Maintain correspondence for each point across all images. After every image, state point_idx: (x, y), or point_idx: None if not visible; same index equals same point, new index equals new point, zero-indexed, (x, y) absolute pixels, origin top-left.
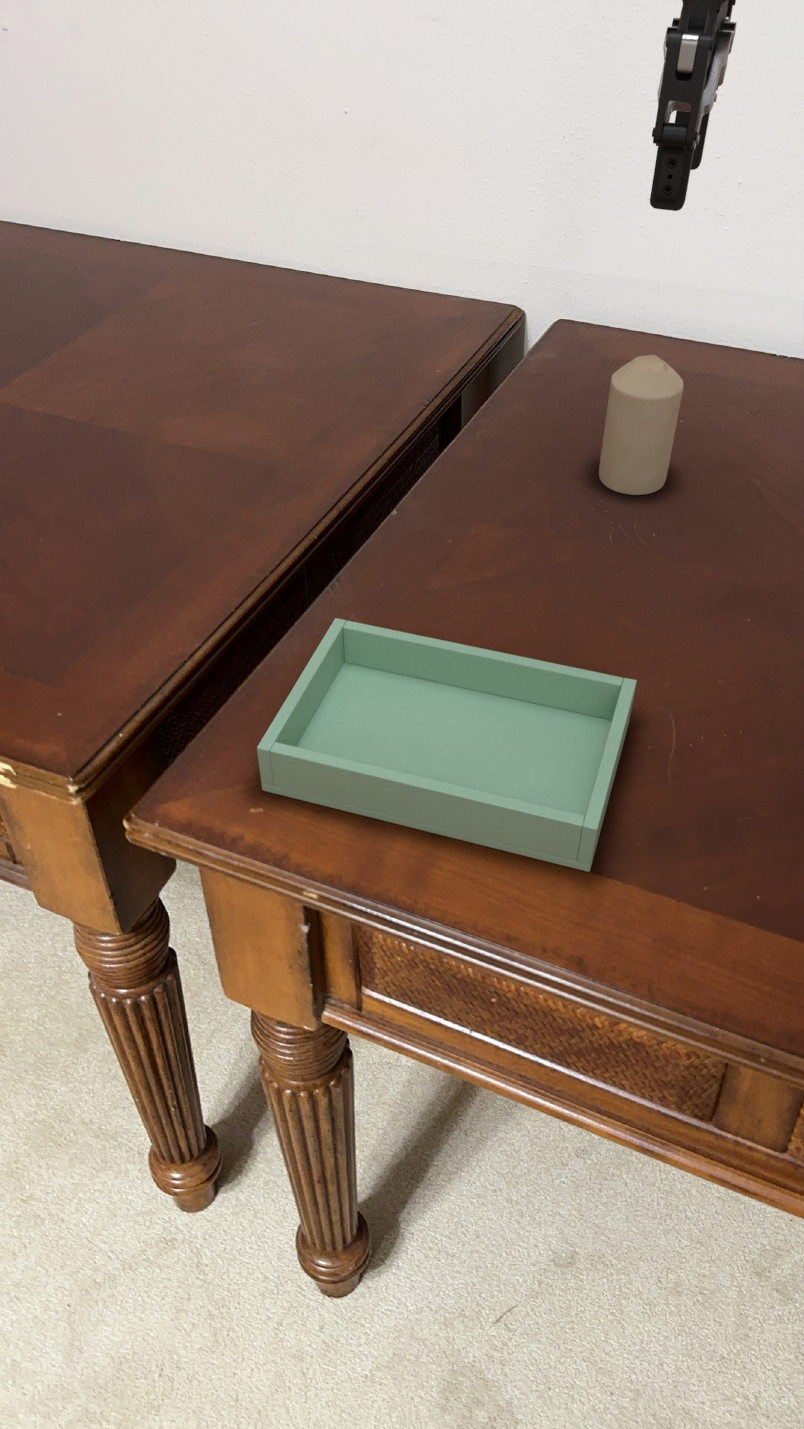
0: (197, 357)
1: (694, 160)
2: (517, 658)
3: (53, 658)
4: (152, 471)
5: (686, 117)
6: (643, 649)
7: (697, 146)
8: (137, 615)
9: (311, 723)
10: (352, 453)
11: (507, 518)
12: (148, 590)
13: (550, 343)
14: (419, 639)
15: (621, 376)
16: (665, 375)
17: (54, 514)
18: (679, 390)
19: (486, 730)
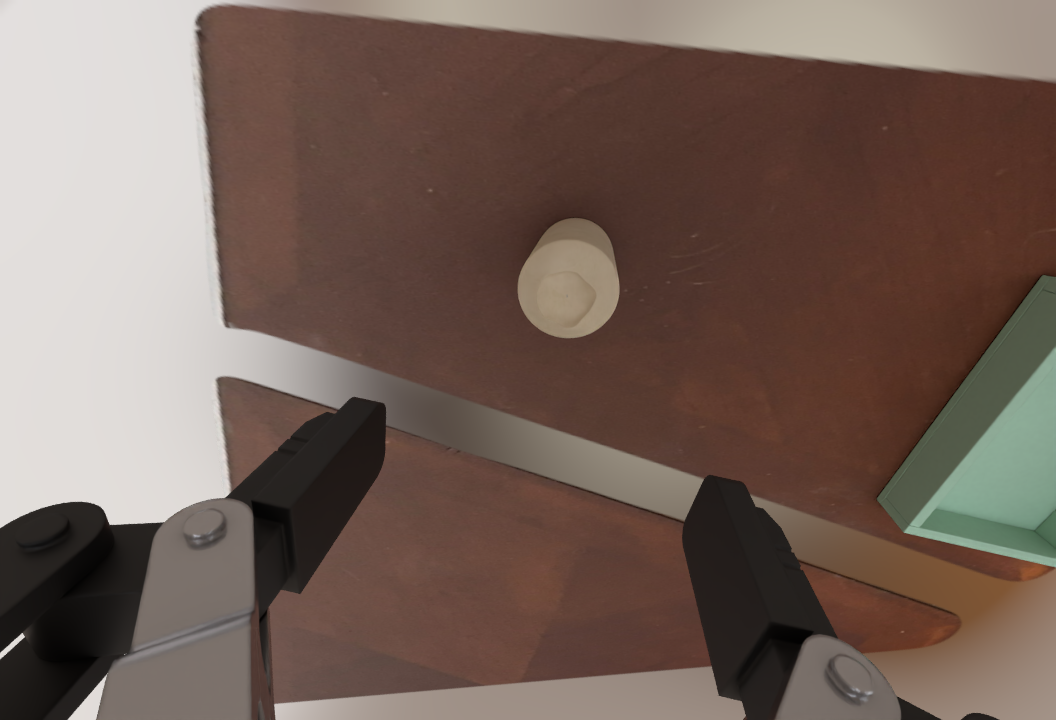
0: (420, 602)
1: (374, 423)
2: (1016, 401)
3: None
4: (599, 613)
5: (310, 547)
6: (917, 255)
7: (357, 447)
8: None
9: (971, 515)
10: (556, 501)
11: (661, 380)
12: None
13: (288, 339)
14: (957, 477)
15: (579, 331)
16: (589, 275)
17: (661, 653)
18: (595, 247)
19: (1026, 400)
